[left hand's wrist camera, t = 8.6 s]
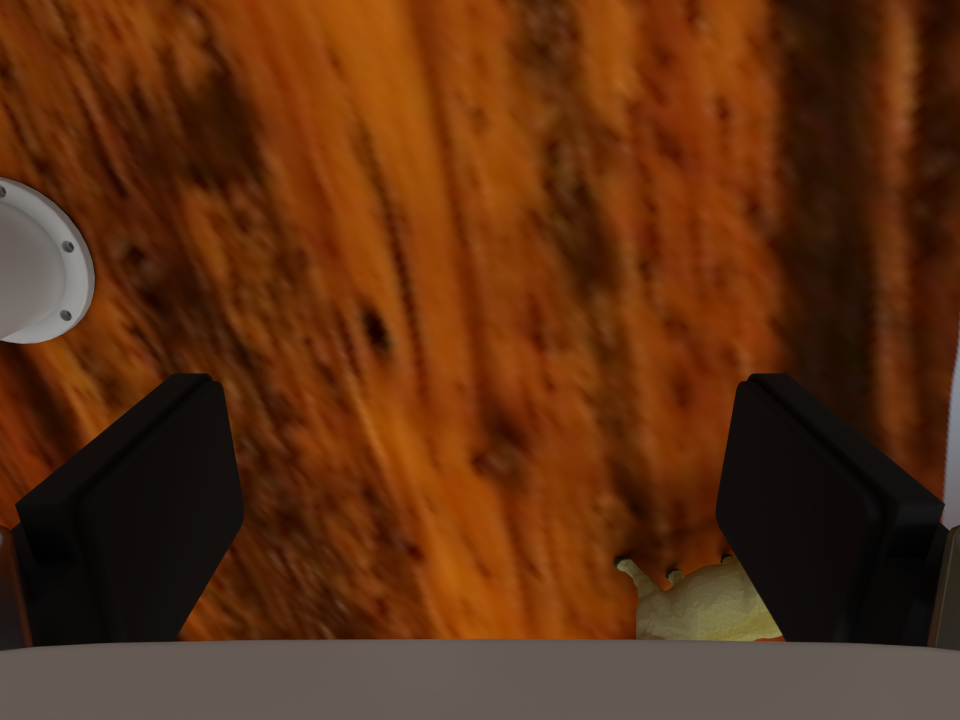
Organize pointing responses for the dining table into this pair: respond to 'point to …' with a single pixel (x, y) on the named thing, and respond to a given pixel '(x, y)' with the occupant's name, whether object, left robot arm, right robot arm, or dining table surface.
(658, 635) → the toy
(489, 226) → the dining table surface
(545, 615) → the dining table surface
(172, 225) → the dining table surface
